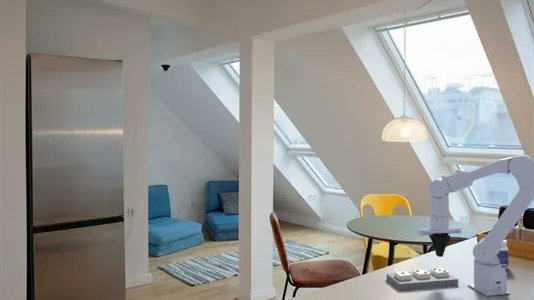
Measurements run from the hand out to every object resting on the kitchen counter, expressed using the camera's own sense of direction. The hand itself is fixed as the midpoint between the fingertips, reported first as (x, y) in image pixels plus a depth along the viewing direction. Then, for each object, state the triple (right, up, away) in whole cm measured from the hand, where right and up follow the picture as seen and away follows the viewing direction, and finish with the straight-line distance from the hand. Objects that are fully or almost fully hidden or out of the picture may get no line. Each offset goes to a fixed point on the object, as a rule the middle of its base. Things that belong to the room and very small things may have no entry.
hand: (439, 255), depth 148 cm
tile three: (0, -7, 0) cm, 7 cm away
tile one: (-13, -7, -2) cm, 15 cm away
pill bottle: (+27, -7, +13) cm, 30 cm away
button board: (-6, -9, -1) cm, 11 cm away
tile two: (-6, -7, -1) cm, 9 cm away
